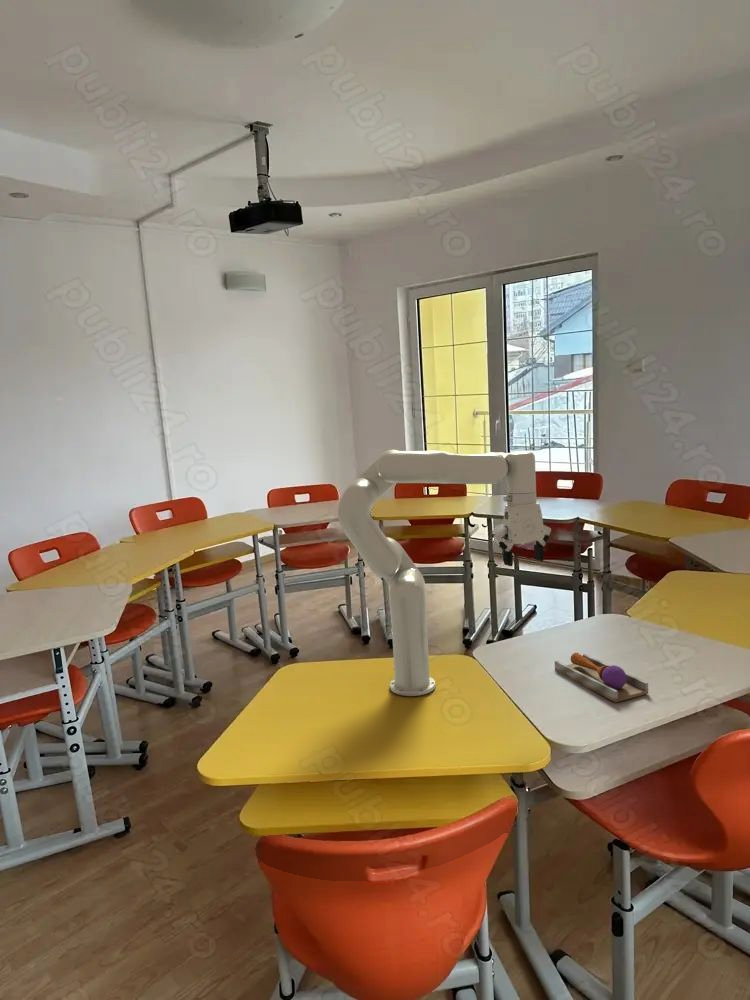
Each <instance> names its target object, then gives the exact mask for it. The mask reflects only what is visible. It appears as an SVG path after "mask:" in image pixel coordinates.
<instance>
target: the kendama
mask: <svg viewBox="0 0 750 1000" xmlns="http://www.w3.org/2000/svg"><path fill="white" fill-rule="evenodd" d="M570 662H571V664H575V665H579V666H582V667H585V668H588V669H591V670H595V671H597V672H598V674H599V676H600V678H601V680H602V681H603V682H604V684H605V685H607V686H609V687H611V688H613V689H620V688H622V687H623V686H624V685H625V683H626V680H627V677H626V674H625V673H626V672H625V670H624V669H623V668H621V667H620V666H618V665H615V664H614V665H610V666H602V667H597V666H596V665H595V664H593V663H592V662H590V661H589V660H587V659H586V658H585V657H583V654H581V653H579V652H574V653H572V654H571V656H570Z"/></svg>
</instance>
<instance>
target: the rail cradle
mask: <svg viewBox="0 0 750 1000" xmlns="http://www.w3.org/2000/svg"><path fill="white" fill-rule="evenodd" d="M582 656H583V657H585V658H586V659H587V660H589V661H590V662H592V663H593V664H595V665H596V666H597V667H602V666H611V665H610V664H608V663H605V662H603V661H602V660H598V659H596V658H595V657H592V656H590V655H588V654H586V653H584V654H582ZM554 671H556V672H558V673H559V674H561V675H563V676H565V677H567V678H568V679H569V680H572V681H573V682H576V683H578V684H580V685H581V686H583V687H585V688H587V689H589V690H591V691H593V692H595V693H597V694H599V695H601V696H603V697H604V698H606V699H607V700H610V701H612V702H614V703H618V702H622V701H624V700H625V701H626V700H629V699H633V698H636V697H640V696H643V695H646V694H649V682H647V681H645V680H642V679H641V678H639V677H636V676H633V675H632V674H629V673H628V672H625V674H626V677H627V680H626V683H625V685H624V686H623V687H622V688H620V689H613V688H611V687H609V686H607V685H605V684H604V682H603V681H602V680H601V678H600V676H599V674H598V672H597V671H595V670H591V669H588V668H585V667H582V666H579V665H575V664H573V663H571V664H564V663H562V662H560V661H559V660H555V661H554Z"/></svg>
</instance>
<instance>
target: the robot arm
mask: <svg viewBox="0 0 750 1000" xmlns="http://www.w3.org/2000/svg"><path fill="white" fill-rule="evenodd" d="M535 456H536V455H535V454H534V453H533V452H531V451H526V450H525V451H524V450H523V451H513V452H508V453H507V452H506V453H505V452H495V451H491V452H490V451H489V452H485V453H483V454H459V453H458V454H457V453H451V452H447V451H443V450H442V451H441V450H397V449H388V450H385V451H384V452H382V453H381V455H379V457H378V458H377V459H376V460H374V462H373V463H372V464H371V465H370V466H368V468H367V469H365V470H364V472H362V473H361V474H360V475H359V476H358V477H356V478H355V479H354V480H353V481H352V482H351V483H350V484H349V485H348V486H347V487H346V488H345V490H344V492H343V493H342V495H341V497H340V500H339V504H338V507H337V518H338V522H339V525H340V528H341V529H342V531H343V533H344V534H345V536H346V537H347V539H348V540H349V541H350V543H351V544H352V545H353V547H354V549H355V550H356V552H357V553H358V555H359V556H360V557H361V559H362V560H363V561H364V563H365V564H366V566H367V568H369V570H370V572H372V574H374V575H375V576H376V577H379V578H381V579H384V580H385V581H386V583H387V585H388V586H389V587H390V588H389V596H388V597H389V598H388V599H389V608H390V618H391V619H390V620H391V621H390V622H391V634H392V647H393V648H392V649H393V650H392V651H393V652H392V653H393V670H394V679H391V681H390V682H389V690H390V691H392V693H394V694H395V695H396V694H397V695H399V696H405V697H416V696H417V697H418V696H425V695H426V694H429V693H431V692H433V691H434V690H435V689H436V687H437V686H436V685H437V684H436V680H435V679H434V678H433V677H431V676H430V661H429V659H430V657H429V641H428V639H429V637H428V626H427V608H426V604H427V603H426V602H427V601H426V600H427V599H426V598H427V597H426V583H425V578H424V576H423V575H422V572H421V571H420V570H419V568H418V566H416V564H415V563H414V561H413V560H412V558H411V557H410V556H409V555H408V553H407V552H406V550H405V548H403V547H402V545H401V543H399V542H398V541H397V540H395V539H394V538H392V537H388V536H386V535H385V533H383V531H382V529H381V527H380V526H379V525H378V524H377V523H376V521H375V520H374V519H373V517H372V515H371V509H372V508H373V507H374V506H375V504H376V502H378V500H379V499H380V498H381V497H382V496H384V495H385V494H386V493H387V492H388V491H390V489H391V488H393V487H394V485H395V484H442V485H443V484H444V485H446V484H448V485H449V484H454V485H455V484H456V485H458V484H459V485H461V484H462V485H495V484H499V483H501V482H503V480H504V479H505V481H506V496H503V498H502V499H503V501H504V502H506V504H505V505H504V511H503V520H502V521H503V522H502V523H503V524H502V526H503V527H502V529H500V530H499V531H497V533H495V534H494V535H493V539H494V541H495V543H496V545H497V546H498V547H499V548H500V550H502V561H503V565H505V566H507V567H513V566H514V562H513V560H514V559H513V551H511V550H512V549H513V546H514V544H517V545H518V544H525V543H526V544H527V543H532V542H534V546H533V553H534V554H533V555H534V560H536V561H540V562H543V561H544V556H545V554H544V547H545V546H546V544H547V541H548V540H549V538H550V534H551V532H552V528H551V527H550V526H547V525H545V524H544V519H543V518H544V517H543V513H542V509H541V506H540V503H539V502H537V483H536V481H537V476H536V457H535ZM502 538H503V539H502ZM503 540H504V541H503Z"/></svg>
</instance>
